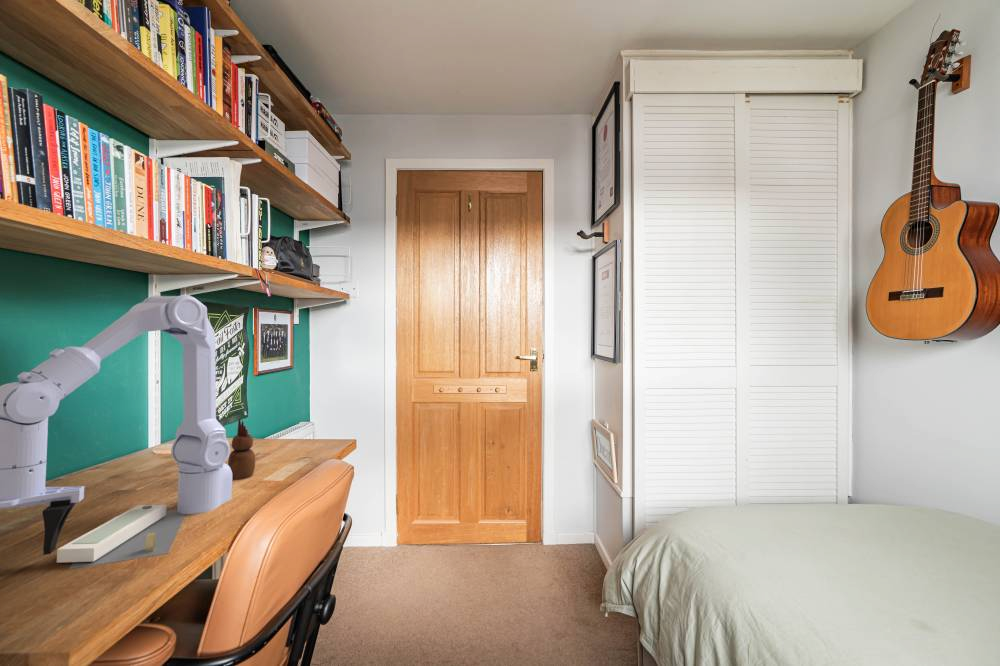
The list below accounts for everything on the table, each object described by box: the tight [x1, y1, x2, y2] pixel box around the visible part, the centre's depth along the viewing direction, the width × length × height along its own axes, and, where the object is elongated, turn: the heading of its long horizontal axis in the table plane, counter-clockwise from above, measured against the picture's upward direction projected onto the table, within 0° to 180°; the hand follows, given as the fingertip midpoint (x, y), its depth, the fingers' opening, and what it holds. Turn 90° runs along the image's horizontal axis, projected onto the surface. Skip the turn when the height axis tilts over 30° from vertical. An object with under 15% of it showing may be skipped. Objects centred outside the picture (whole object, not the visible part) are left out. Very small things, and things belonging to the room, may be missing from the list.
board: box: [68, 508, 187, 570], centre depth 78 cm, size 21×12×4 cm, turn 27°
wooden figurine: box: [227, 418, 256, 480], centre depth 112 cm, size 7×6×15 cm
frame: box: [56, 504, 167, 564], centre depth 77 cm, size 18×5×2 cm, turn 7°
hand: (14, 556), depth 66 cm, fingers open, 7 cm apart
